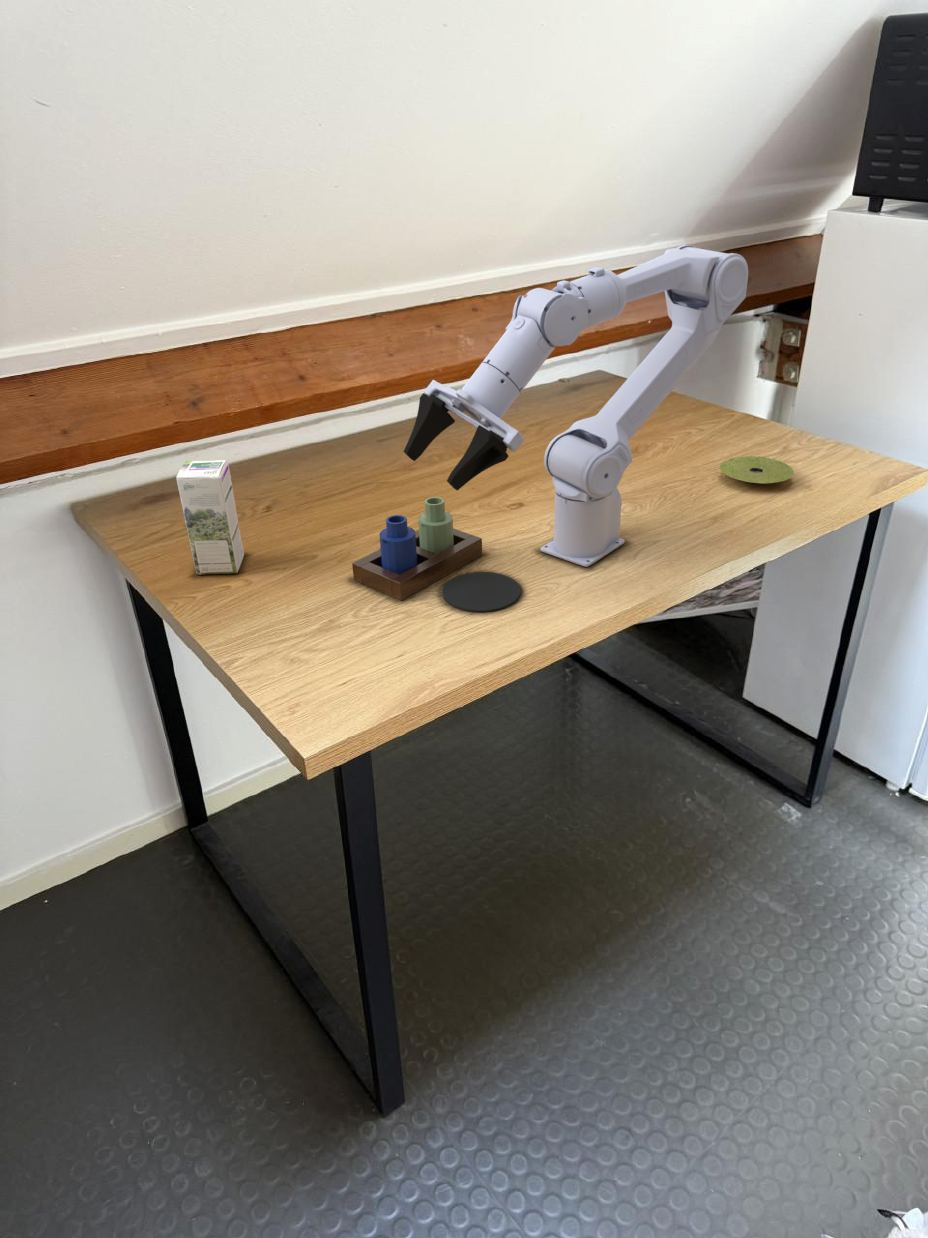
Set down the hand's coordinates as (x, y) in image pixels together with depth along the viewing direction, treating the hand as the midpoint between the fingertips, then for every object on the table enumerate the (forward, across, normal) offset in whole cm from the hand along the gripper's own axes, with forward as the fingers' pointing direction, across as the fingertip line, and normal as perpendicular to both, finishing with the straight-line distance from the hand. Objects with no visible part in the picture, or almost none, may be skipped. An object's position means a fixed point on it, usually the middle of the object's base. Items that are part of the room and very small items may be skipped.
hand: (429, 470), depth 106 cm
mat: (-34, +13, +52) cm, 63 cm away
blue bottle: (+12, -4, +14) cm, 19 cm away
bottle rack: (+10, -4, +16) cm, 19 cm away
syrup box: (+26, -24, +7) cm, 36 cm away
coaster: (+7, +7, +15) cm, 18 cm away
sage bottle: (+7, -4, +19) cm, 21 cm away
